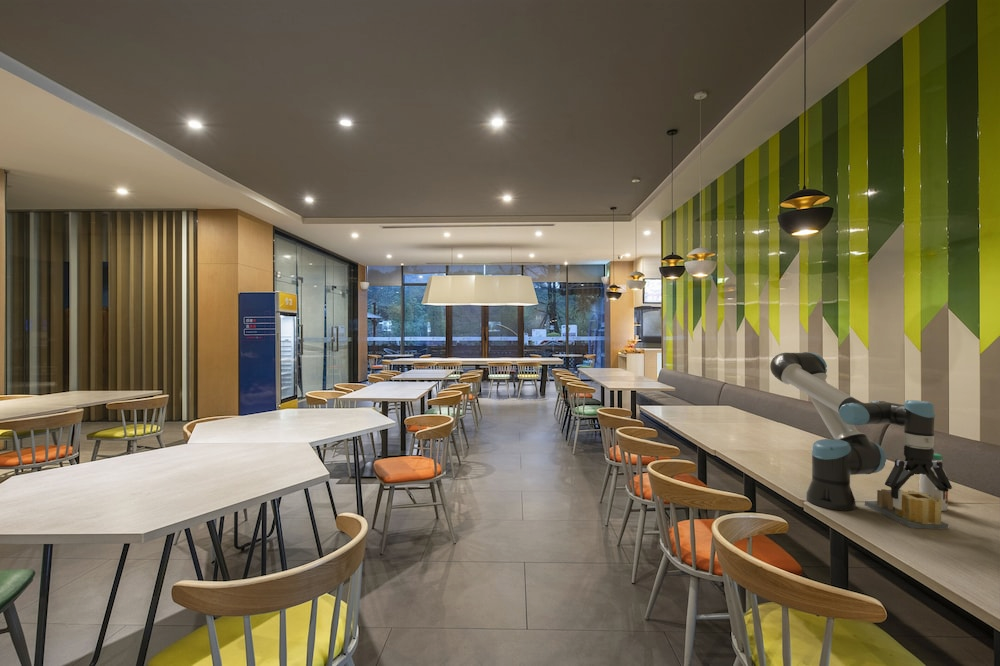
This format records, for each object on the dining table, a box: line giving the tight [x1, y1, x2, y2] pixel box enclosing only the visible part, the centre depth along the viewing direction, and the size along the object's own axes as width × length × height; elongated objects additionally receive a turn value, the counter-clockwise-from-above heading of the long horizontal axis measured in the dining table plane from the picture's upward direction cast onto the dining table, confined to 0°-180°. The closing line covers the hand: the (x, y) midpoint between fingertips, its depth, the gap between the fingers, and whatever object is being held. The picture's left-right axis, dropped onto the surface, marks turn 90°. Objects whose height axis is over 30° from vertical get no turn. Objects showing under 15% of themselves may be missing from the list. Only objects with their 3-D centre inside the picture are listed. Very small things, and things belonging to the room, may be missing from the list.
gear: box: [895, 490, 942, 525], centre depth 156 cm, size 10×10×8 cm
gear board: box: [864, 488, 949, 530], centre depth 161 cm, size 12×20×7 cm, turn 178°
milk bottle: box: [918, 452, 949, 512], centre depth 170 cm, size 8×8×20 cm
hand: (917, 508), depth 156 cm, fingers open, 13 cm apart
